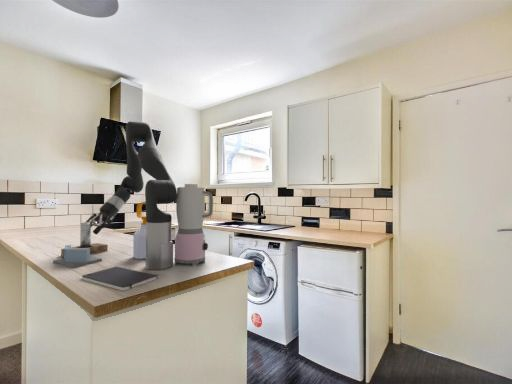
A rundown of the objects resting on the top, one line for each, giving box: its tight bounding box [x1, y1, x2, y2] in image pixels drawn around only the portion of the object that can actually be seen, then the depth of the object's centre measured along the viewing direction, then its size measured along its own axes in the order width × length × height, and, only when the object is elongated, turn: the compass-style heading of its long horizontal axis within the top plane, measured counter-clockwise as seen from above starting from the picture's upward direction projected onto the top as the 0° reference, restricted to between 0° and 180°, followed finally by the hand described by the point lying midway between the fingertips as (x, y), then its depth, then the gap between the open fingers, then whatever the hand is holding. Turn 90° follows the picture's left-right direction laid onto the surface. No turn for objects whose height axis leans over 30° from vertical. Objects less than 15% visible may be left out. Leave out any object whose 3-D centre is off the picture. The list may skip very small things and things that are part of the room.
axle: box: [79, 221, 92, 248], centre depth 122 cm, size 4×4×14 cm
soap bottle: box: [132, 201, 146, 260], centre depth 117 cm, size 9×9×25 cm
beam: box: [60, 242, 109, 257], centre depth 122 cm, size 16×8×3 cm, turn 153°
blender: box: [173, 183, 214, 267], centre depth 109 cm, size 16×12×32 cm
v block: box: [52, 244, 103, 268], centre depth 108 cm, size 15×11×6 cm
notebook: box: [81, 266, 159, 291], centre depth 88 cm, size 13×2×21 cm
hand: (88, 232), depth 123 cm, fingers open, 8 cm apart
